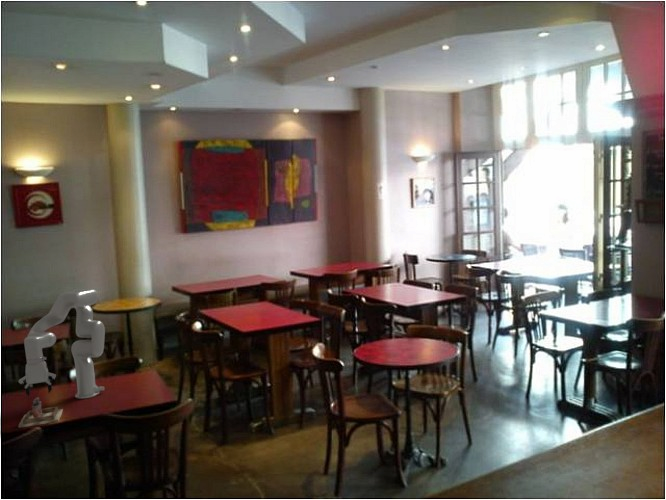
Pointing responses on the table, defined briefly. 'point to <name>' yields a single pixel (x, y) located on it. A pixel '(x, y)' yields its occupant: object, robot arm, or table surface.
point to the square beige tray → (48, 417)
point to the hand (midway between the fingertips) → (39, 393)
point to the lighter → (37, 408)
